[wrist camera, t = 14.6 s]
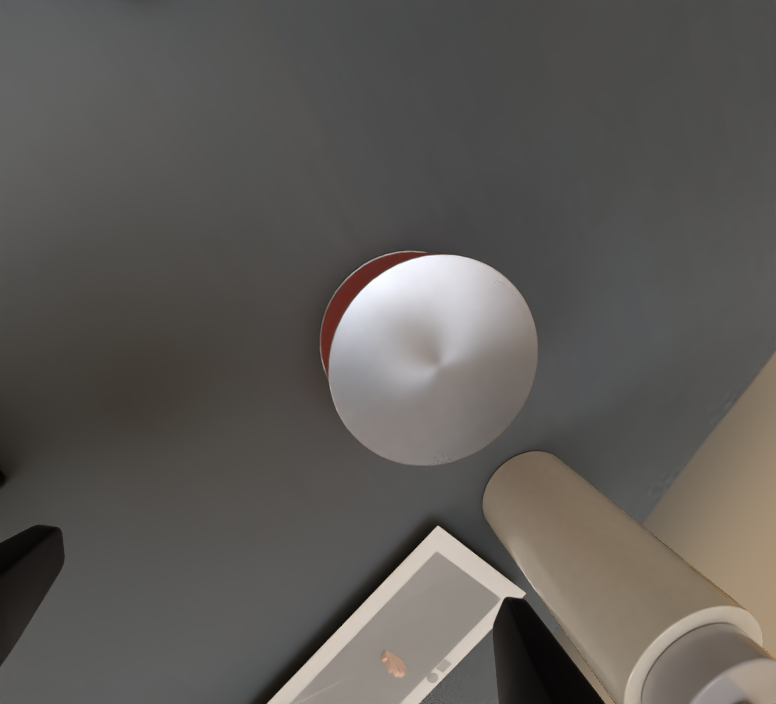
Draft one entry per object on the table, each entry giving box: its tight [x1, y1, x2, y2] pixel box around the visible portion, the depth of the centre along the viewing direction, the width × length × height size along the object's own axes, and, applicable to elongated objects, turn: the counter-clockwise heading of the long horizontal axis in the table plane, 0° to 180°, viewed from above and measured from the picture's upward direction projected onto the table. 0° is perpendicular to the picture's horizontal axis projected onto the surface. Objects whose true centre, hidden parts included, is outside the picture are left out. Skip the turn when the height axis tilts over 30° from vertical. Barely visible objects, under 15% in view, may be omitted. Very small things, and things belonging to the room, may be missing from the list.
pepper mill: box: [483, 451, 776, 704], centre depth 19 cm, size 6×6×14 cm
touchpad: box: [267, 526, 526, 704], centre depth 25 cm, size 8×15×2 cm, turn 136°
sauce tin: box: [319, 250, 538, 466], centre depth 19 cm, size 8×8×5 cm
